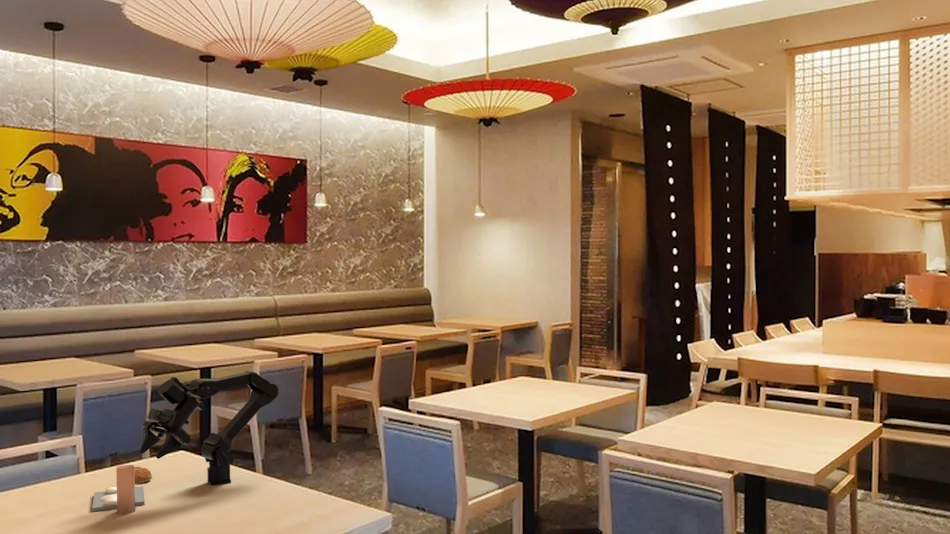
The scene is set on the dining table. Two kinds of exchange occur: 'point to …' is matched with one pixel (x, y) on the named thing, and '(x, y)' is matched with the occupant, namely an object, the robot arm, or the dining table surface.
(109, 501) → the board
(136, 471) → the pastry
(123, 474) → the canister
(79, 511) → the dining table surface
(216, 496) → the dining table surface
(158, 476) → the dining table surface
